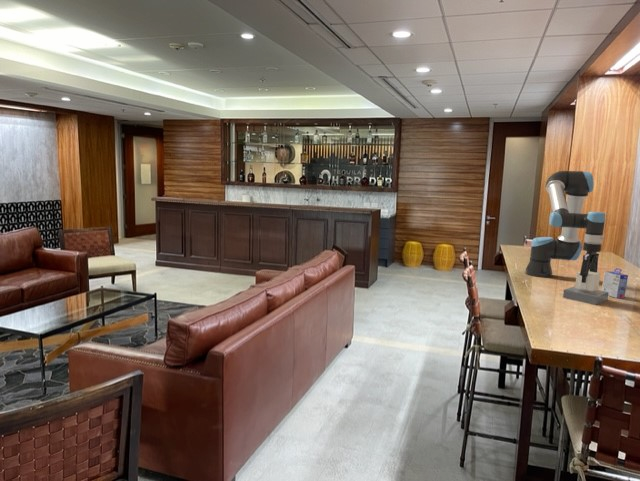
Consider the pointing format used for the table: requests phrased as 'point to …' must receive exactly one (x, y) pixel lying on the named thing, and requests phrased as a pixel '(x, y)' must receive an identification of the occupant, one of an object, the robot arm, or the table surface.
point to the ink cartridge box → (615, 283)
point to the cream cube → (589, 281)
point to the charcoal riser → (586, 295)
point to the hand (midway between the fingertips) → (586, 287)
